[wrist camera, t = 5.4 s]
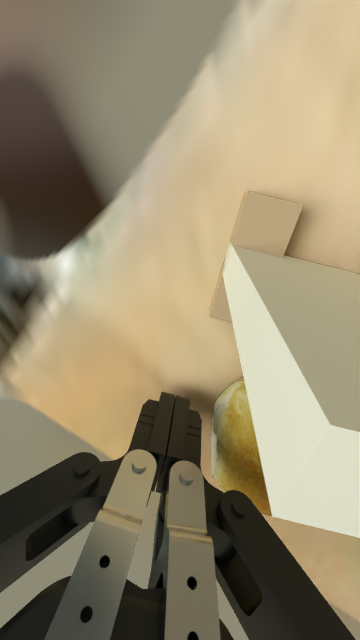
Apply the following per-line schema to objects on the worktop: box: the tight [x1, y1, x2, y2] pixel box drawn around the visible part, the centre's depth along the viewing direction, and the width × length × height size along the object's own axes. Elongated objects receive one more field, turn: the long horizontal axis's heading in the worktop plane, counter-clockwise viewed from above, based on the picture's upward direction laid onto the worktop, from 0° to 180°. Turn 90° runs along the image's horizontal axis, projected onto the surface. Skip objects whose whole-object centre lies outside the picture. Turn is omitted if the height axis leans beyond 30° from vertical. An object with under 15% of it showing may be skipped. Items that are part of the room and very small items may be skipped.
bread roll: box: [211, 378, 272, 516], centre depth 13 cm, size 8×9×4 cm
